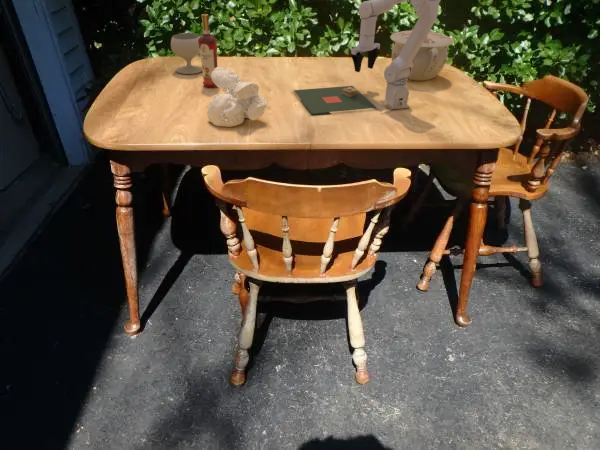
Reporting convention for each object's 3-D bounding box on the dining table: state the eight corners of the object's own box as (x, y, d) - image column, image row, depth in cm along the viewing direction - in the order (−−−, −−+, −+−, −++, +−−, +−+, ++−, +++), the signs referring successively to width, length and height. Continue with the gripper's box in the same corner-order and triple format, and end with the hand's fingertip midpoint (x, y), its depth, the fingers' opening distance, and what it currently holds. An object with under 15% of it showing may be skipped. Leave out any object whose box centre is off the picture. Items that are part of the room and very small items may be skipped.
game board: (376, 109, 181) (376, 107, 181) (311, 115, 175) (311, 113, 174) (352, 87, 201) (352, 85, 201) (293, 92, 195) (293, 90, 195)
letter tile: (349, 91, 195) (349, 86, 194) (357, 94, 192) (357, 89, 191) (341, 94, 192) (342, 89, 191) (349, 97, 190) (350, 92, 188)
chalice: (211, 69, 218) (208, 35, 209) (190, 77, 208) (186, 41, 200) (188, 64, 224) (185, 31, 215) (167, 71, 214) (162, 37, 206)
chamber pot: (398, 64, 231) (404, 18, 219) (453, 74, 220) (463, 26, 208) (375, 79, 211) (381, 30, 200) (435, 90, 200) (444, 39, 188)
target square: (342, 102, 185) (342, 101, 185) (326, 103, 183) (326, 103, 183) (337, 96, 190) (337, 96, 190) (321, 97, 189) (321, 97, 188)
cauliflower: (185, 97, 162) (224, 57, 165) (213, 133, 178) (248, 96, 182) (219, 116, 152) (259, 73, 155) (245, 152, 168) (281, 113, 172)
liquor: (199, 87, 197) (192, 15, 181) (206, 82, 203) (200, 12, 187) (216, 89, 196) (210, 17, 180) (222, 83, 202) (217, 13, 186)
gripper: (372, 30, 190) (368, 64, 198) (346, 35, 182) (344, 70, 190) (385, 33, 185) (381, 68, 193) (360, 38, 178) (356, 75, 185)
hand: (363, 69), depth 191 cm, fingers open, 7 cm apart
